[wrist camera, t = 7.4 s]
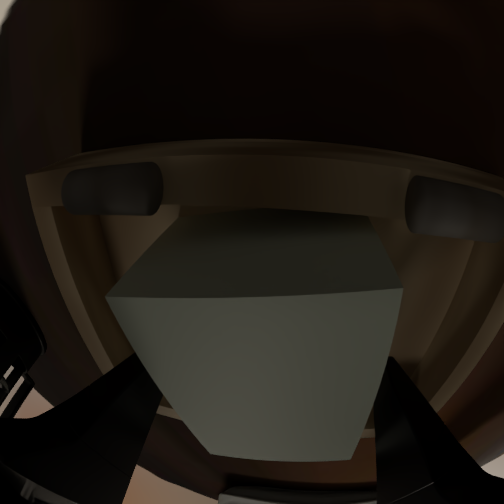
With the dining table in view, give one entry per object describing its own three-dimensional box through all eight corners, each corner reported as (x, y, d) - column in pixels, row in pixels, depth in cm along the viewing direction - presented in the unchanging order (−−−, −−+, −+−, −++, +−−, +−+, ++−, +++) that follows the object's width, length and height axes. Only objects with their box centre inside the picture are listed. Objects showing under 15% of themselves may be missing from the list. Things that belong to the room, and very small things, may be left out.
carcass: (499, 176, 7) (572, 223, 3) (409, 388, 13) (420, 450, 10) (80, 153, 10) (0, 187, 6) (141, 363, 16) (113, 416, 12)
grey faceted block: (359, 201, 8) (403, 287, 4) (347, 378, 12) (350, 459, 8) (178, 217, 9) (105, 296, 6) (231, 379, 14) (210, 453, 10)
